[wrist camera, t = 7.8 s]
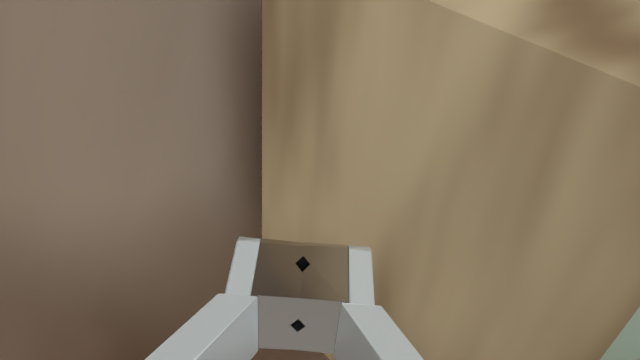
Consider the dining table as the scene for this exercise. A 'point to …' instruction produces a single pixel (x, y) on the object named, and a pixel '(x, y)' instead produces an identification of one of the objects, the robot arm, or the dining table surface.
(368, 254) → the robot arm
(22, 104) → the dining table surface
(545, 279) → the oak block
